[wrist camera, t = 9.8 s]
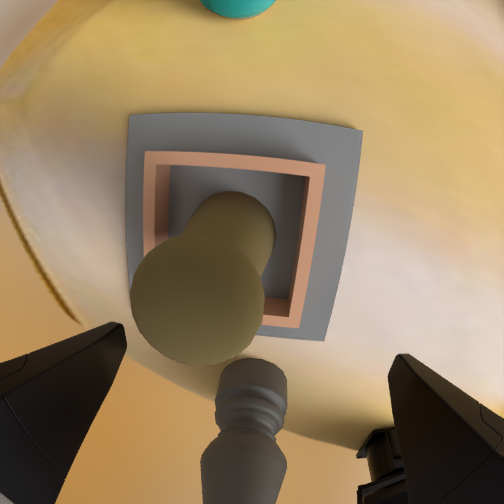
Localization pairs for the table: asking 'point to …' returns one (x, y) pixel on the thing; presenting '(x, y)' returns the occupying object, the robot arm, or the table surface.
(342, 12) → the table surface
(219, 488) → the candle holder
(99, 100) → the table surface
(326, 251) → the shaker socket
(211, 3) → the beverage can
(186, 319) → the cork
